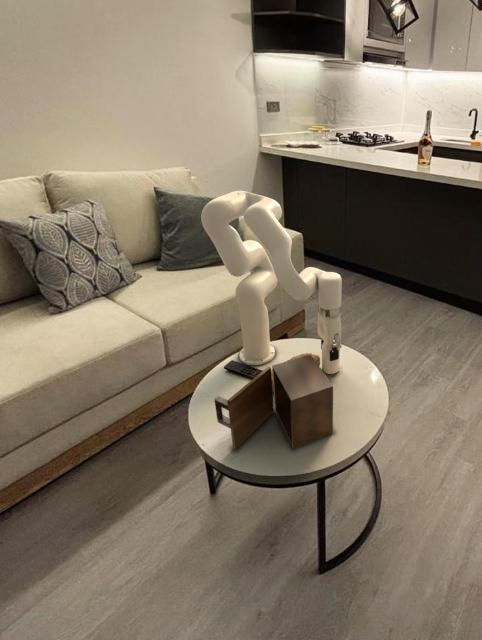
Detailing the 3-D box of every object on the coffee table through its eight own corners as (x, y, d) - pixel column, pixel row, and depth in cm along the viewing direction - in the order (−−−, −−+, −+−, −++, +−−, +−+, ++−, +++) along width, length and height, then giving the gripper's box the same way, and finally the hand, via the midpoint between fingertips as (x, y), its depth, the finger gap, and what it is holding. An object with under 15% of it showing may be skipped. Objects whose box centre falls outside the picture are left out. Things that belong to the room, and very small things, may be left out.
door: (214, 438, 114) (208, 391, 107) (254, 402, 127) (250, 358, 121) (235, 449, 111) (230, 401, 104) (273, 412, 124) (271, 367, 117)
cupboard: (293, 449, 112) (291, 400, 105) (275, 411, 124) (272, 365, 118) (332, 433, 117) (333, 386, 111) (311, 398, 130) (310, 354, 124)
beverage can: (336, 362, 147) (336, 334, 143) (341, 373, 142) (342, 344, 137) (319, 366, 145) (319, 338, 140) (324, 377, 140) (324, 348, 135)
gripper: (309, 299, 139) (310, 344, 146) (330, 324, 125) (330, 371, 132) (329, 295, 142) (329, 338, 149) (352, 318, 129) (350, 365, 135)
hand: (329, 353), depth 141 cm, fingers closed on beverage can, 6 cm apart
